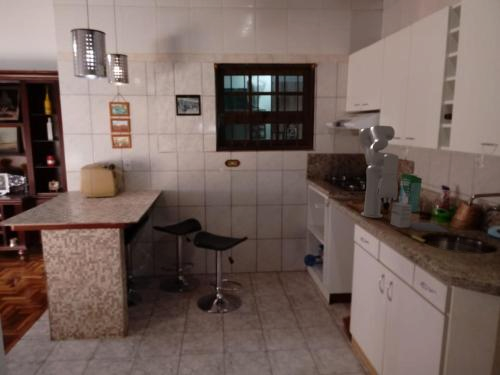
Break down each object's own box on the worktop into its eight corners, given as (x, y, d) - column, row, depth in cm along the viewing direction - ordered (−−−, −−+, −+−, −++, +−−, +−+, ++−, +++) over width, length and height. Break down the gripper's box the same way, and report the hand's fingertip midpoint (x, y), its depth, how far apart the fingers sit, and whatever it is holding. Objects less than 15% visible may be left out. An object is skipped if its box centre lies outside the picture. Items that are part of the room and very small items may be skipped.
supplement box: (389, 224, 205) (392, 202, 203) (400, 223, 207) (403, 202, 205) (398, 227, 198) (401, 205, 196) (409, 227, 200) (412, 205, 198)
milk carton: (417, 211, 245) (422, 174, 241) (407, 212, 242) (412, 174, 238) (407, 208, 253) (412, 173, 250) (397, 209, 250) (401, 173, 246)
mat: (402, 222, 211) (402, 221, 211) (433, 224, 211) (433, 223, 211) (415, 230, 194) (415, 230, 194) (449, 232, 193) (449, 231, 193)
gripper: (400, 176, 202) (396, 209, 205) (373, 175, 202) (369, 207, 205) (405, 178, 195) (401, 211, 197) (377, 177, 195) (374, 210, 198)
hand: (385, 209), depth 201 cm, fingers closed
